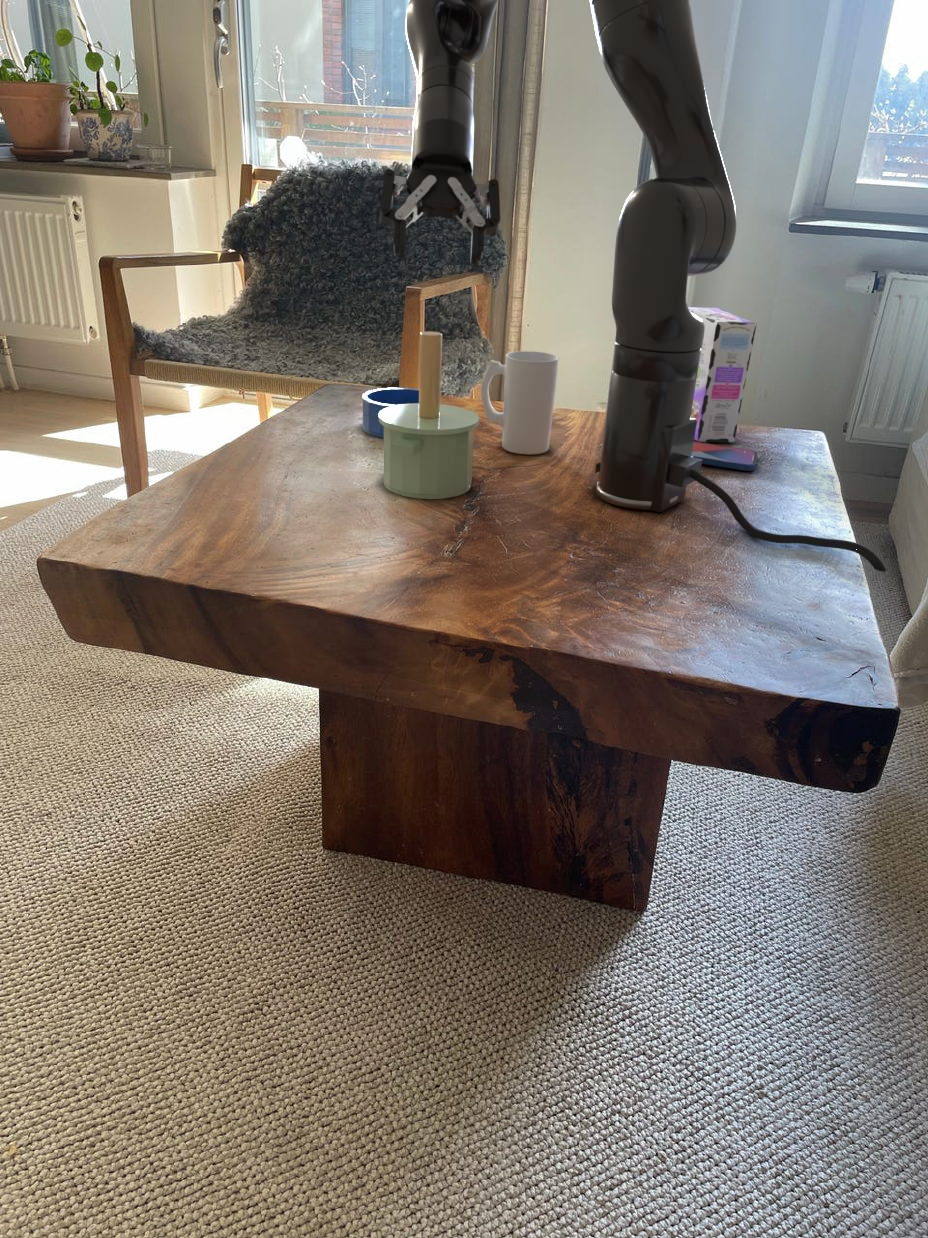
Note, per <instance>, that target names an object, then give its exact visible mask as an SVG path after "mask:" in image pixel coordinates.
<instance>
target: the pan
mask: <svg viewBox="0 0 928 1238" xmlns="http://www.w3.org/2000/svg"><path fill="white" fill-rule="evenodd" d="M413 403H419V388H408V387H387V388H377V389H373V390H372V389H371V390H368V391H366V392H365V393H362V430H363V431H364V432H365V433H367V434H368V435H371V436H373V437H378V438H382V439H384V426H383V425H382V424H380V422H379V413H380V411H382V410H383V409H385V408H388V407H392V406H396V405H402V404H413Z"/></svg>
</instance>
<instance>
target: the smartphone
mask: <svg viewBox="0 0 928 1238" xmlns="http://www.w3.org/2000/svg"><path fill="white" fill-rule="evenodd" d="M691 456H692V457H694V458H698V459H702V465H708V466H713V467H719V468H726V469H733V470H739V471H746V472H753V471H754V470H755V468H756V463H757V456H758V452H757V451H756V450H752V449H747V448H740V447H732V446H727V445H721V444H713V443H709V442H697V441H694V443H693V449H692V455H691Z"/></svg>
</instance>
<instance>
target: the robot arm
mask: <svg viewBox="0 0 928 1238" xmlns="http://www.w3.org/2000/svg"><path fill="white" fill-rule="evenodd" d="M499 1H500V0H409V2H408V5H407V9H406V14H405V35H406V40H407V45H408V49H409V52H410V56H411V60H412V64H413V68H414V72H415V76H416V81H417V82H416V101H415V110H414V115H413V120H412V132H411V155H410V156H411V158H410V170H409V173H408V175H407V176H403V175H402V176H401V175H395V171H394V170H393V169H391V168H388V169H386V170H385V171H384V174H383V181H382V188H381V189H382V190H381V196H380V206H379V224H380V225H381V226H382V227H388V226H389V227H390V228H391V229H393V247H392V248H393V252H394V254H398V259H403V260H404V259H405V257H406V239H407V228H408V227H409V226H410V225H411V224H412V223H416V221H418V219H419V218H420V217H422V216H423V215H424V214H425V215H426V217H427V218H437V217H438V218H439V217H441V218H443V219H446V220H447V219H449V220H453V218H455V217H456V219H457V220H458V221H459V222H460V223H461V225H462V227H464V228H466V229H467V230H468V231H469V233H470V234H471V237H470V253H469V254H470V255H469V256H470V257H469V261H470V262H469V265H471V266H477V262H480V261H481V260H482V258H483V255H484V250H485V249H484V245H485V236H488V235H489V236H493V237H494V236H496V235H498V233H499V225H500V222H501V206H500V205H501V204H500V203H501V202H500V183H499V181H498V180H497V179H495V178H492V179H491V178H490V180H489V181H488V183H477V182H476V181H475V179H474V151H475V150H474V149H475V116H474V93H475V92H474V89H475V79H474V77H475V76H474V71H473V69H472V67H471V66H472V65H474V64H476V63H477V62H479V60H480V59H481V58H482V57H483V55H484V53H485V51H486V48H487V46H488V42H489V37H490V32H491V27H492V24H493V23H492V22H493V19H494V15H495V12H496V9H497V6H498V4H499ZM589 4H590V5H589V7H590V10H591V16H592V22H593V27H594V33H595V37H596V41H597V46H598V51H599V54H600V59H601V61H602V64H603V67H604V69H605V71H606V73H607V75H608V77H609V79H610V81H611V83H612V86H613V87H614V88H615V90H616V92H617V93H618V96H619V97H620V98H621V100H622V102H623V103H624V105H625V106H626V108H627V109H628V111H629V113H630V114H631V116H632V117H633V119H634V121H635V122H636V124H637V126H638V127H639V129H640V131H641V132H642V134H643V136H644V139H645V141H646V144H647V146H648V148H649V152H650V156H651V159H652V162H653V166H654V171H655V172H654V173H655V177H656V178H655V177H654V178H650V179H649V178H648V179H647V180H644V181H642V182H641V183H640V184H638V185H637V186H636V187H635V188H633V189H632V191H631V192H630V193H629V195H628V196H627V198H626V199H625V203H624V205H623V207H622V209H621V212H620V215H619V219H618V224H617V230H616V236H615V245H614V247H615V248H614V260H613V261H614V263H613V276H612V290H611V291H612V292H611V311H612V316H613V320H614V323H615V336H614V343H613V353H612V362H611V370H610V377H609V386H608V396H607V404H606V412H605V420H604V429H603V435H602V436H603V437H602V446H601V455H600V462H598V463H596V464H595V469H594V474H597V473H598V476H597V477H598V478H597V479H598V480H597V483H596V490H595V493H596V495H597V497H598V498H599V499H601V500H602V501H604V502H606V503H608V504H609V505H610V504H611V505H614V506H616V507H620V508H624V509H631V510H640V511H641V510H642V511H652V512H654V513H655V512H656V513H662V512H664V511H666V510H667V509H670V508H672V507H674V506H676V505H677V504H679V503H680V502H682V501H683V502H684V500H685V496H686V492H687V491H686V490H687V486H688V485H690V484H692V483H695V482H697V483H698V484H700V485H702V486H703V487H705V488H706V489H707V490H709V491H710V492H711V493H713V494H714V495H715V496H717V497H718V498H719V499H720V500H721V501H722V502H723V503H724V504H725V506H726V507H727V508H728V510H729V512H730V513H731V515H732V517H733V519H734V520H735V521H736V522H737V523H738V525H739V526H741V528H742V529H743V530H744V531H746V532H747V533H748V534H749V535H750V536H752V537H754V538H756V539H758V540H762V541H765V542H769V543H774V544H782V545H783V544H784V545H785V544H790V545H791V544H795V545H796V544H799V545H809V546H814V547H819V548H820V547H821V548H829V549H830V548H831V549H840V550H846V551H850V552H853V553H856V554H858V555H859V556H861V557H863V558H864V559H865V560H867V562H868V563H869V564H870V565H871V566H872V567H873V569H874V570H876V571H878V572H882V573H885V572H887V569H886V567H885V565H884V563H883V562H882V560H881V559H880V558H879V556H877V554H875V552H873V551H872V550H871V549H870V548H868V547H866V546H865V545H862V544H861V543H858V542H854V541H851V540H845V539H837V538H827V537H826V538H825V537H818V536H812V535H806V534H805V535H804V534H778V533H772V532H769V531H764V530H762V529H759V528H757V527H756V526H754V525H753V524H752V523H751V522H750V521H748V519H747V518H746V517H745V516H744V515H743V513H742V512H741V510H740V509H739V506H738V505H737V504H736V502H735V500H734V499H733V498H732V497H731V496H730V494H728V493H727V492H726V491H725V490H724V489H723V488H722V487H720V486H719V485H718V484H716V483H715V482H713V481H712V480H710V479H709V478H707V477H706V476H704V475H703V474H702V473H701V469H702V465H703V464H702V459H698V458H694V457H692V456H691V455H692V449H693V443H694V442H695V439H694V437H695V431H696V425H697V420H696V419H695V418H692V417H691V411H692V405H693V398H694V392H695V386H696V379H697V374H698V368H699V361H700V355H701V349H702V344H703V339H704V331H705V325H704V322H703V320H702V319H701V318H700V317H698V316H696V315H695V314H693V313H692V312H691V311H690V310H689V308H688V307H689V306H688V304H687V289H688V277H695V276H702V275H706V274H709V273H712V272H714V271H715V270H717V269H719V267H721V266H722V265H723V264H724V263H725V262H726V260H727V258H728V257H729V256H730V253H731V251H732V249H733V246H734V244H735V240H736V235H737V211H736V204H735V200H734V195H733V192H732V188H731V184H730V181H729V178H728V174H727V171H726V167H725V164H724V161H723V157H722V154H721V150H720V147H719V143H718V140H717V137H716V133H715V130H714V125H713V122H712V118H711V113H710V109H709V103H708V99H707V93H706V92H707V91H706V87H705V81H704V77H703V72H702V71H703V70H702V65H701V61H700V56H699V52H698V46H697V42H696V36H695V29H694V21H693V15H692V13H693V12H692V8H691V3H690V0H589ZM402 190H406V192H407V194H408V195H409V196H407V198H406V200H405V202H404V203H403V204H402V205H401V206H400V207H399V208H398V209H397V210H395V209H393V202H394V198H396V197H398V196H399V195H400V193H401V191H402ZM475 197H479V198H480V201H481V203H482V204H483V206H486V218H484V217H483V216H482V215H481V213H480V211H478V209H477V207H476V204H475V202H474V201H473V200H474V199H475ZM856 549H857V550H856Z"/></svg>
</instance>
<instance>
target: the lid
mask: <svg viewBox="0 0 928 1238" xmlns="http://www.w3.org/2000/svg"><path fill="white" fill-rule="evenodd" d="M442 350H443V333H441V332H439V331H422V332H420V333H419V370H418V371H419V373H418V375H419V376H418V390H419V403H413V404H402V405H396V406H392V407H388V408H385V409H383V410H382V411H380V413H379V422H380V424H382V425H383V426H385V427H387V428H389V429H392V430H396V431H400V432H404V433H411V434H420V435H450V434H458V433H463V432H467V431H470V430H473V429H474V430H475V429H477V428H478V427H479V425H480V416H479V414H477V412H475V411H473V410H471V409H467V408H464V407H461V406H457V405H452V404H451V405H449V404H445V403H444V404H443V403H441V387H442V386H441V385H442V357H443V355H442V353H443V351H442Z"/></svg>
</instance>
